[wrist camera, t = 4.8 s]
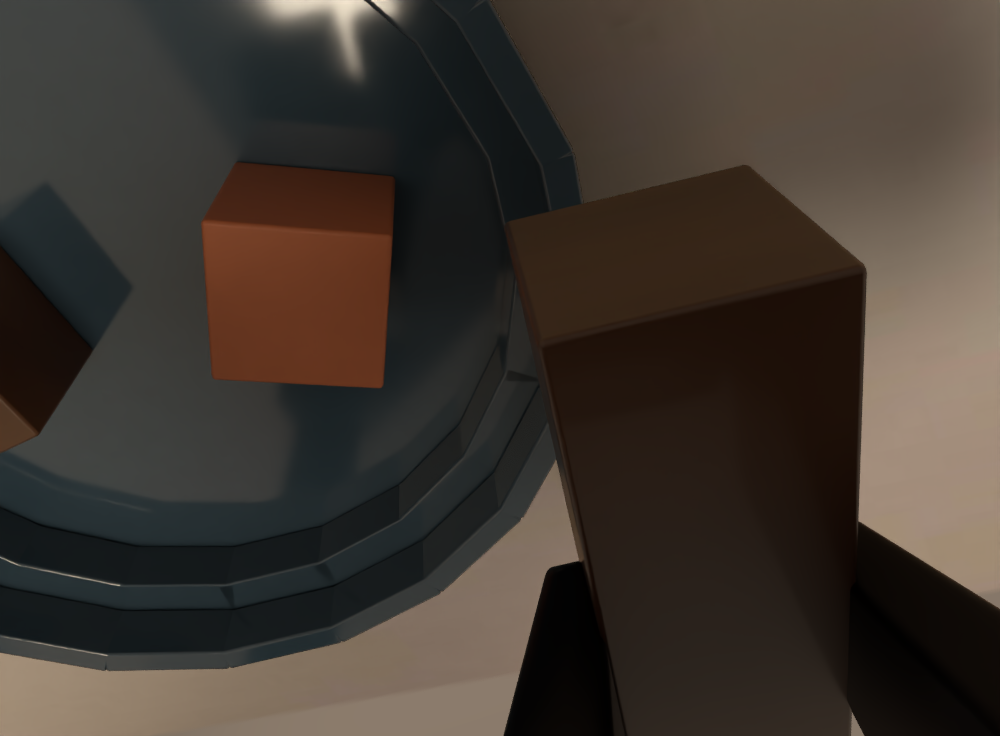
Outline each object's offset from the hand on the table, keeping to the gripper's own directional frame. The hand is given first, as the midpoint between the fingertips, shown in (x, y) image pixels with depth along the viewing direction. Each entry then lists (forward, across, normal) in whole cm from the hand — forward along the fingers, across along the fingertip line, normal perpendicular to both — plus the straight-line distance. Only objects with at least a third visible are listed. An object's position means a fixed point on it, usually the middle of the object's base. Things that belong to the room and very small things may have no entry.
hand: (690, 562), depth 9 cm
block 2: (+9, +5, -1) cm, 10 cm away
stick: (+1, 0, 0) cm, 1 cm away
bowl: (+10, +8, -1) cm, 13 cm away
